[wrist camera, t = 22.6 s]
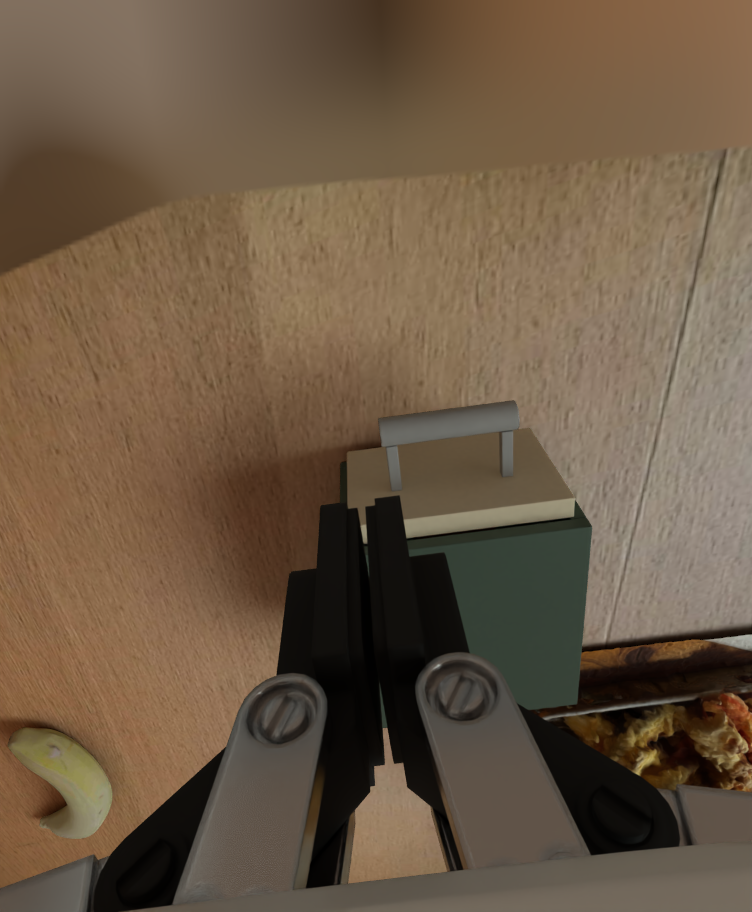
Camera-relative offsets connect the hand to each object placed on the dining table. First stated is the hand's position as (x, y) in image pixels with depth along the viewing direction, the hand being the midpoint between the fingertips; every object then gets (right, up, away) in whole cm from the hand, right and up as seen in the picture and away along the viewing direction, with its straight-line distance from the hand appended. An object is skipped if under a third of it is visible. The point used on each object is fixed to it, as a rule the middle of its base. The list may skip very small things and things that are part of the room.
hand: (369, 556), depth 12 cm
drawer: (+4, 0, +25) cm, 25 cm away
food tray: (+25, -23, +40) cm, 53 cm away
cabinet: (+5, -3, +28) cm, 28 cm away
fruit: (-28, -26, +39) cm, 54 cm away
